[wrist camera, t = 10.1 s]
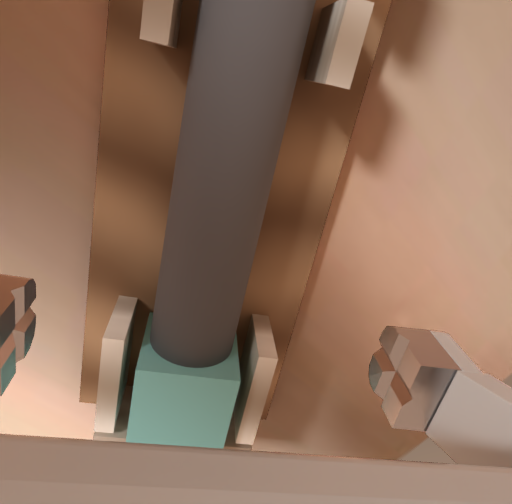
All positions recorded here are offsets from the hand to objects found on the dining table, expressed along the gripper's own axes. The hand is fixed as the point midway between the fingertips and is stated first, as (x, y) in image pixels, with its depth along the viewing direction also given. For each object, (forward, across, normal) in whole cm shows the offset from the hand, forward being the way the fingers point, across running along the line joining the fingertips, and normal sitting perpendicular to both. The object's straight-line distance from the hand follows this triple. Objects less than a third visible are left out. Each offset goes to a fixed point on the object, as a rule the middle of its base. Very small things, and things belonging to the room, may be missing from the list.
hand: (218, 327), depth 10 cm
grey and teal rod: (+13, 0, 0) cm, 13 cm away
